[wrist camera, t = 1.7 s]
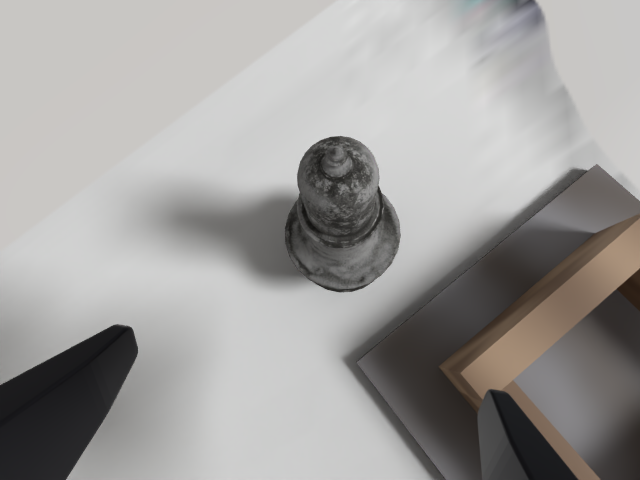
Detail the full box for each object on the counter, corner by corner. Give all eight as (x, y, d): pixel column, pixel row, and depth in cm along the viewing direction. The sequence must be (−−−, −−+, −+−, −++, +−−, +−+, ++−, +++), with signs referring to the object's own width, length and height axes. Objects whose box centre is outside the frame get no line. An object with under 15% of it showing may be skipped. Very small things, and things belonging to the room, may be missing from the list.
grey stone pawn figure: (289, 293, 22) (222, 239, 10) (300, 199, 23) (251, 62, 12) (390, 301, 21) (438, 254, 10) (394, 205, 23) (440, 66, 11)
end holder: (603, 684, 16) (704, 821, 12) (356, 362, 21) (358, 367, 16) (865, 415, 18) (1042, 440, 14) (588, 170, 22) (650, 125, 18)
